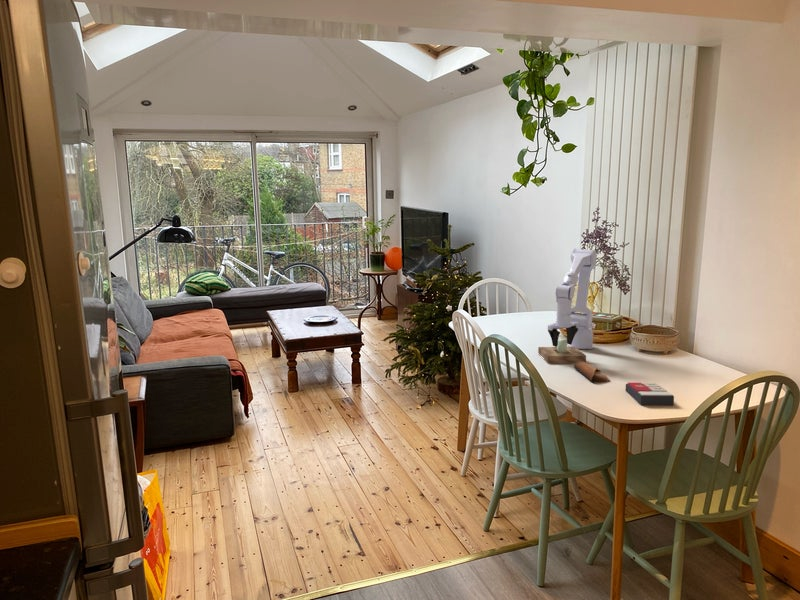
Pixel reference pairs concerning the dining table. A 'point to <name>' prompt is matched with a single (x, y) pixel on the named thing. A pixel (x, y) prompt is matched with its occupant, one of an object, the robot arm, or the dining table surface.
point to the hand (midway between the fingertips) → (562, 345)
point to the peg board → (561, 355)
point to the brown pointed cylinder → (591, 372)
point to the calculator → (650, 394)
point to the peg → (562, 346)
